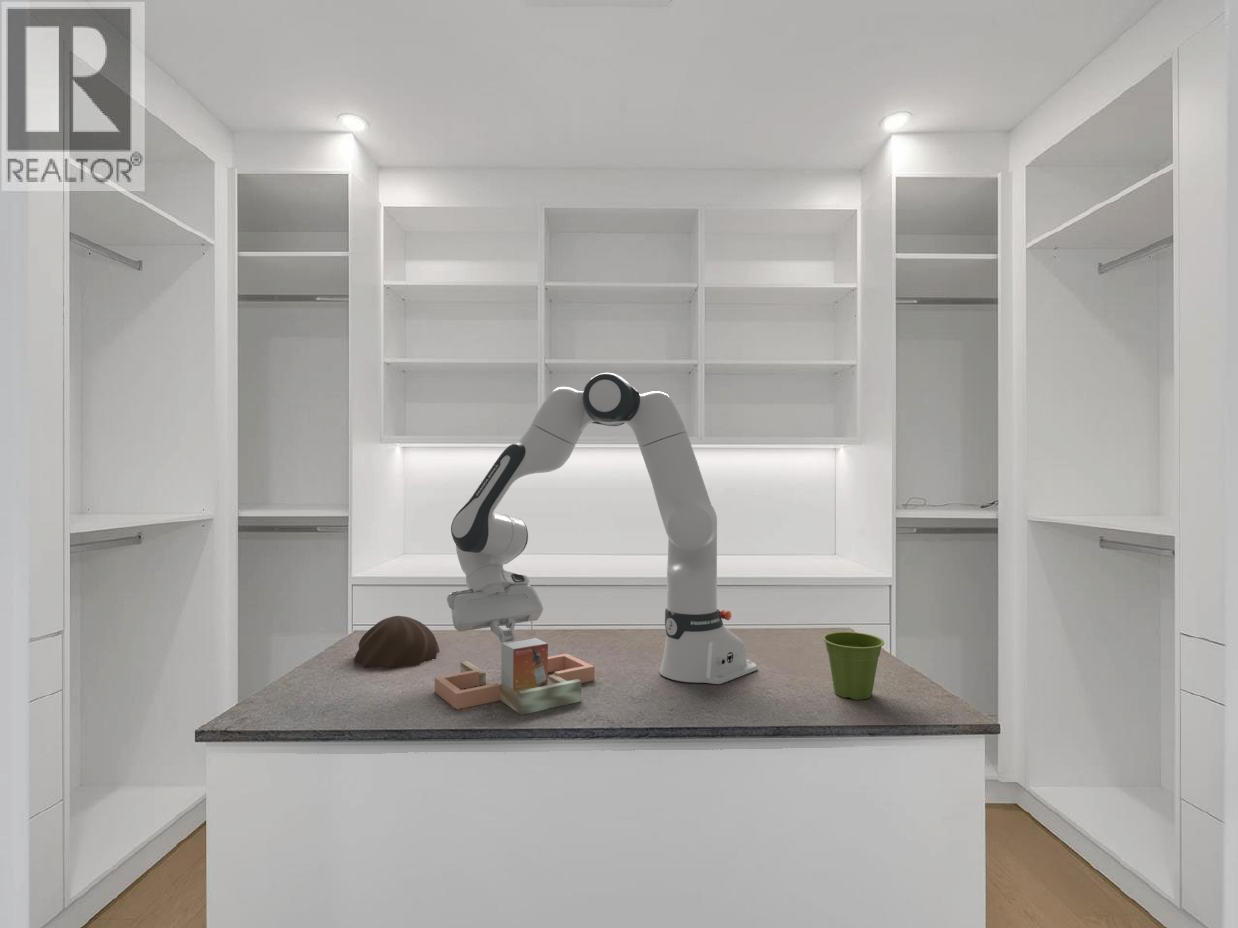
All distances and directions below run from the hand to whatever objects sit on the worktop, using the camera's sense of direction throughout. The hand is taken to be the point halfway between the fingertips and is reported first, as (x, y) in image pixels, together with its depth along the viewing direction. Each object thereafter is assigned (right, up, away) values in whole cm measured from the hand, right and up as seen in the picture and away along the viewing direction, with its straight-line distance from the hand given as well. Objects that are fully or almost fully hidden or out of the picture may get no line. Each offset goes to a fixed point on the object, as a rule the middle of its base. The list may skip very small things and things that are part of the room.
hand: (508, 640), depth 150 cm
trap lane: (+2, -9, -2) cm, 9 cm away
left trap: (-6, -9, -8) cm, 14 cm away
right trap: (+10, -9, +3) cm, 14 cm away
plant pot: (+71, -9, -8) cm, 72 cm away
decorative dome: (-30, -9, +19) cm, 36 cm away
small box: (+5, -9, -8) cm, 13 cm away
